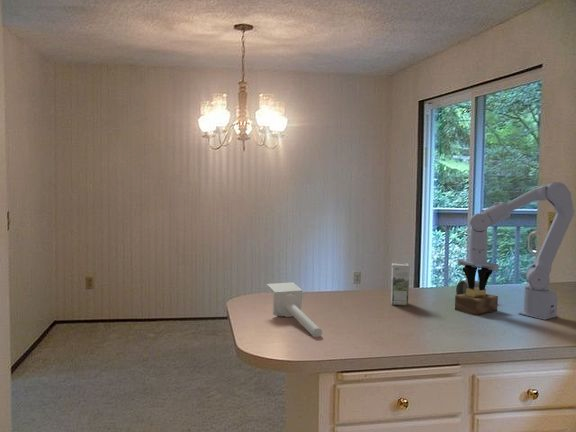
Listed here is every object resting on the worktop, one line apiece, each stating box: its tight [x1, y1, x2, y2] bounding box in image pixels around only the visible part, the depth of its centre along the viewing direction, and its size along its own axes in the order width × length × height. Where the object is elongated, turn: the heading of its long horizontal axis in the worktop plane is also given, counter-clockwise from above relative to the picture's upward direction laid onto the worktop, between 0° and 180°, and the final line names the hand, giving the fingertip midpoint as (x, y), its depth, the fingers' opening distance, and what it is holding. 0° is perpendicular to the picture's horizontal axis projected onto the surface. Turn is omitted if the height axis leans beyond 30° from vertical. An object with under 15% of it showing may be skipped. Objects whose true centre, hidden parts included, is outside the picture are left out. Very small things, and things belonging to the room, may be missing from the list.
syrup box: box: [390, 262, 410, 307], centre depth 195 cm, size 6×6×14 cm
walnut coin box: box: [454, 293, 499, 316], centre depth 188 cm, size 11×9×5 cm
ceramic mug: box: [455, 279, 479, 295], centre depth 204 cm, size 11×8×8 cm
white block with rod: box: [266, 282, 323, 338], centre depth 169 cm, size 9×9×32 cm
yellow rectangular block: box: [466, 287, 487, 298], centre depth 187 cm, size 6×4×3 cm, turn 126°
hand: (476, 288), depth 187 cm, fingers closed on yellow rectangular block, 3 cm apart
